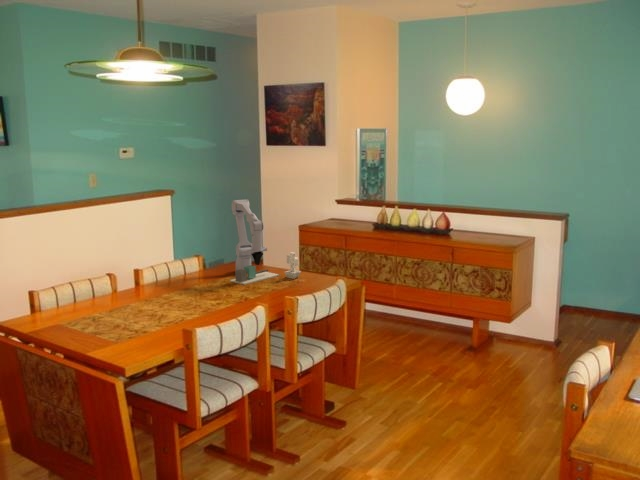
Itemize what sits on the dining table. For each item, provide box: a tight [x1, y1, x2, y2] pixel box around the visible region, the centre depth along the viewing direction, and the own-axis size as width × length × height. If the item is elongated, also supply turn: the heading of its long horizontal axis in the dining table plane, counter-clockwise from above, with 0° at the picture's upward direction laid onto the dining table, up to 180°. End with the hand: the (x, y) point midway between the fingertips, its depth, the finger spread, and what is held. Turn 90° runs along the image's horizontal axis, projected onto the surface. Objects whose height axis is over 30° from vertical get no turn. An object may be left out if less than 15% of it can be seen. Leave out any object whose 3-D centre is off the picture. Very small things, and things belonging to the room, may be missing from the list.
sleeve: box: [244, 264, 257, 279], centre depth 368 cm, size 4×5×6 cm
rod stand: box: [229, 268, 280, 286], centre depth 371 cm, size 12×28×7 cm, turn 139°
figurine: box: [284, 251, 302, 280], centre depth 373 cm, size 7×9×15 cm
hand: (257, 264), depth 372 cm, fingers closed
